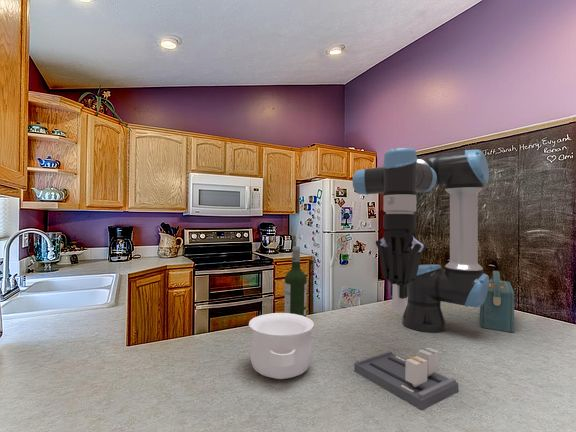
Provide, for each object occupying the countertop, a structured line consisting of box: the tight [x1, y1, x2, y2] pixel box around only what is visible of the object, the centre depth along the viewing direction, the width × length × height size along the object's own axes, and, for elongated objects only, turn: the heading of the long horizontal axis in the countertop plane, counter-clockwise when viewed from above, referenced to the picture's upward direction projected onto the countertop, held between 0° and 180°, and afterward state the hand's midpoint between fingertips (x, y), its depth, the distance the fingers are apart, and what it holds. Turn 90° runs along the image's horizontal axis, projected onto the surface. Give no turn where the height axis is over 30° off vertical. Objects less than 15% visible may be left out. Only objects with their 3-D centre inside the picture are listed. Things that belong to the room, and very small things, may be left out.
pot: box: [248, 312, 315, 380], centre depth 84 cm, size 22×17×12 cm
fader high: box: [417, 347, 440, 376], centre depth 77 cm, size 3×4×6 cm
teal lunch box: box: [479, 270, 515, 333], centre depth 127 cm, size 26×11×20 cm, turn 148°
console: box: [353, 349, 460, 411], centre depth 79 cm, size 20×14×3 cm
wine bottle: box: [283, 245, 308, 317], centre depth 115 cm, size 8×8×30 cm
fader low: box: [405, 355, 427, 388], centre depth 72 cm, size 3×4×6 cm
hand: (398, 310), depth 77 cm, fingers closed
